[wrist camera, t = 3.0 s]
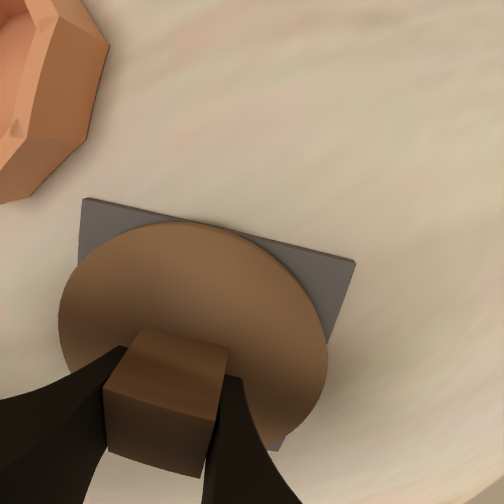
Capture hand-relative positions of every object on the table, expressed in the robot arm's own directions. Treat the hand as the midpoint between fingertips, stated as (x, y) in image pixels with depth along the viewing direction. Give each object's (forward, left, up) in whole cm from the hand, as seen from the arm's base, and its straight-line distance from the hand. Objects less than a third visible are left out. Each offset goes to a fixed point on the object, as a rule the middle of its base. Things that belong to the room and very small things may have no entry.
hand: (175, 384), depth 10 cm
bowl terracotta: (+9, +10, -2) cm, 14 cm away
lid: (0, 0, -2) cm, 2 cm away
